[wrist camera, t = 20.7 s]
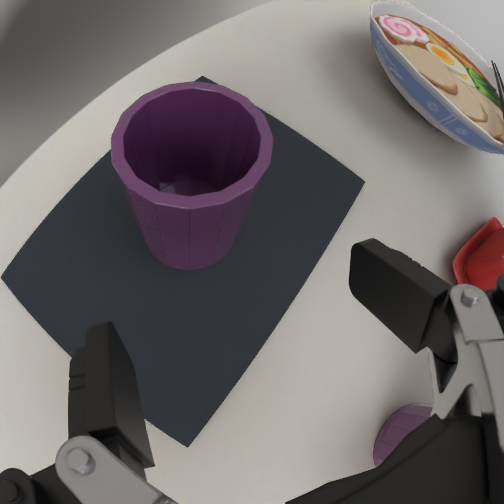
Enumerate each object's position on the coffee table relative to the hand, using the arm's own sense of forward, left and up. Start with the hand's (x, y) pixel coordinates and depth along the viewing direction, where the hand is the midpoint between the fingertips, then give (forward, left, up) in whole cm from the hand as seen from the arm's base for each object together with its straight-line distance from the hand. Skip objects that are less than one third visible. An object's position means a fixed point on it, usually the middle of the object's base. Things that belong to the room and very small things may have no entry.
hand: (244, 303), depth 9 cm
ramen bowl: (+29, +18, -9) cm, 35 cm away
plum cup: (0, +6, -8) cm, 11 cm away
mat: (0, +7, -9) cm, 11 cm away
